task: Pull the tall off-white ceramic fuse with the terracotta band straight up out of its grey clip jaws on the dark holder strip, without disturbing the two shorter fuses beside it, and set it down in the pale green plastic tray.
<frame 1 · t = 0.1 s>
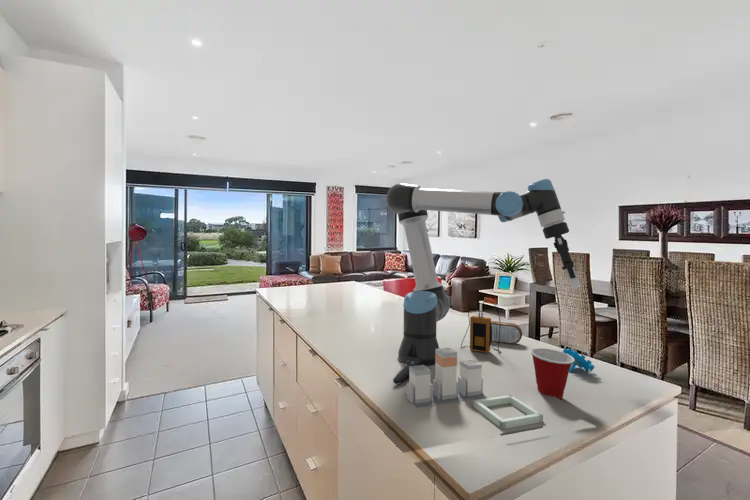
hand: (575, 285, 118), 28 cm above the kitchen island, tool tilted 20°, fingers open, 13 cm apart
plastic cup: (551, 397, 98), on the kitchen island
can opener: (408, 383, 108), on the kitchen island
fuse b: (470, 392, 97), point 1 cm above the kitchen island, touching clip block
multimeter: (482, 349, 141), on the kitchen island
fuse: (445, 395, 95), point 1 cm above the kitchen island, touching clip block
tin: (502, 343, 151), on the kitchen island
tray: (506, 419, 85), on the kitchen island
blue knobby plastic piece: (576, 371, 119), on the kitchen island
fuse a: (419, 399, 92), point 1 cm above the kitchen island, touching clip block
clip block: (445, 401, 95), on the kitchen island
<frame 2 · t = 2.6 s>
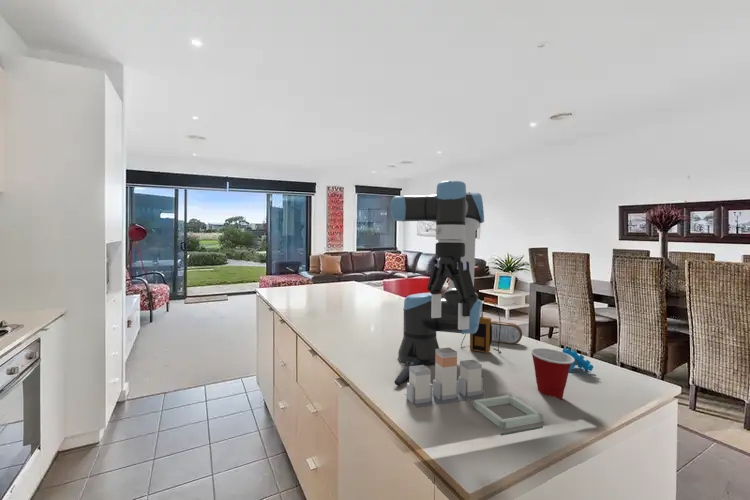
hand: (448, 323, 94), 21 cm above the kitchen island, tool pointing down, fingers open, 13 cm apart
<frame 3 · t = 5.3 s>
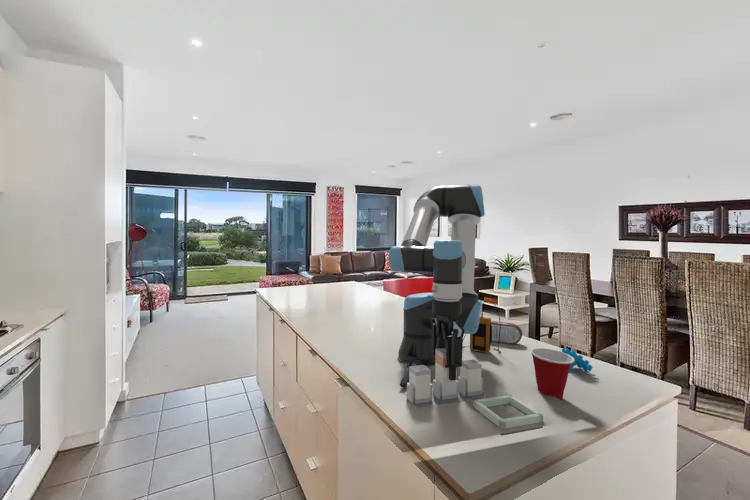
hand: (445, 387, 95), 4 cm above the kitchen island, tool pointing down, fingers closed on fuse, 4 cm apart
can opener: (411, 385, 106), on the kitchen island
fuse: (445, 395, 95), point 2 cm above the kitchen island, touching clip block, gripper
everything else where it was.
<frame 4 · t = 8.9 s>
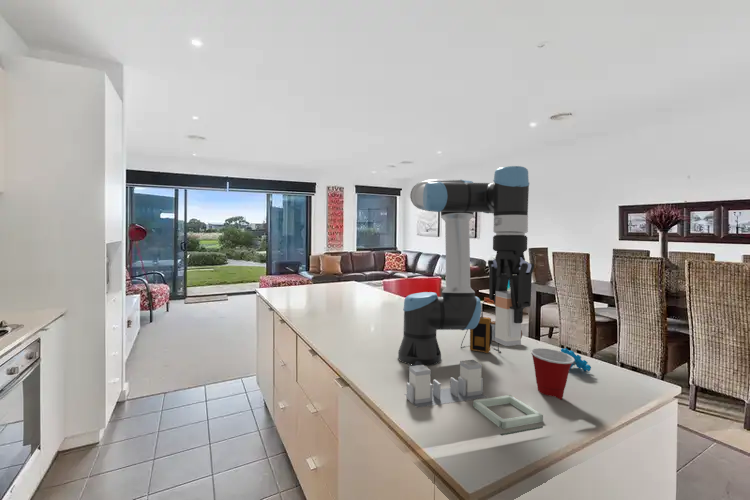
hand: (508, 333, 85), 21 cm above the kitchen island, tool pointing down, fingers closed on fuse, 4 cm apart
can opener: (415, 387, 104), on the kitchen island
fuse: (507, 342, 85), point 18 cm above the kitchen island, touching gripper
everything else where it was.
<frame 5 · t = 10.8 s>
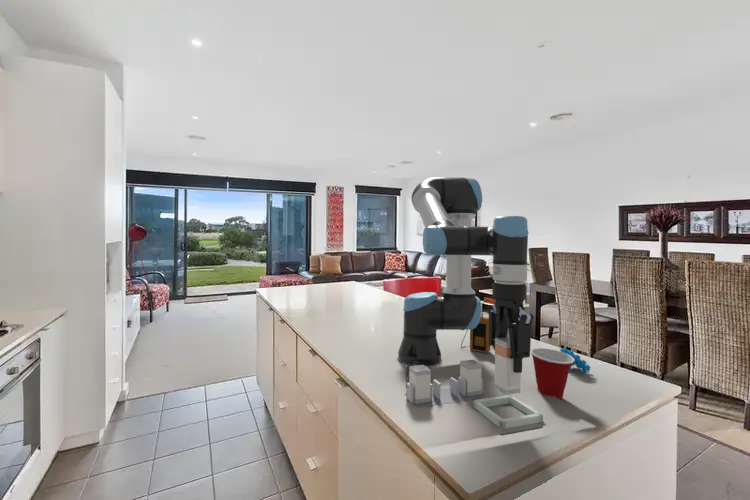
hand: (507, 381, 85), 9 cm above the kitchen island, tool pointing down, fingers closed on fuse, 4 cm apart
fuse: (507, 390, 85), point 7 cm above the kitchen island, touching gripper
when the fingers open (4 cm above the kitchen island, at t = 12.5 s): fuse drops 1 cm, resting on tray.
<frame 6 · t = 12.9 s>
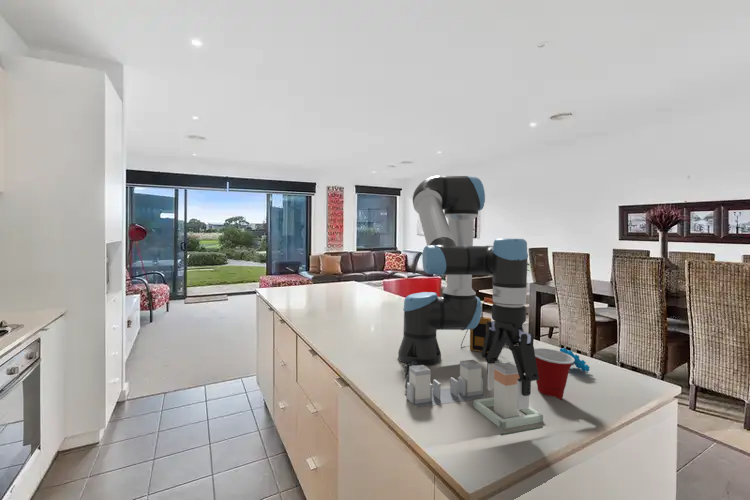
hand: (506, 398, 85), 5 cm above the kitchen island, tool pointing down, fingers open, 10 cm apart
fuse: (506, 416, 85), point 1 cm above the kitchen island, touching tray
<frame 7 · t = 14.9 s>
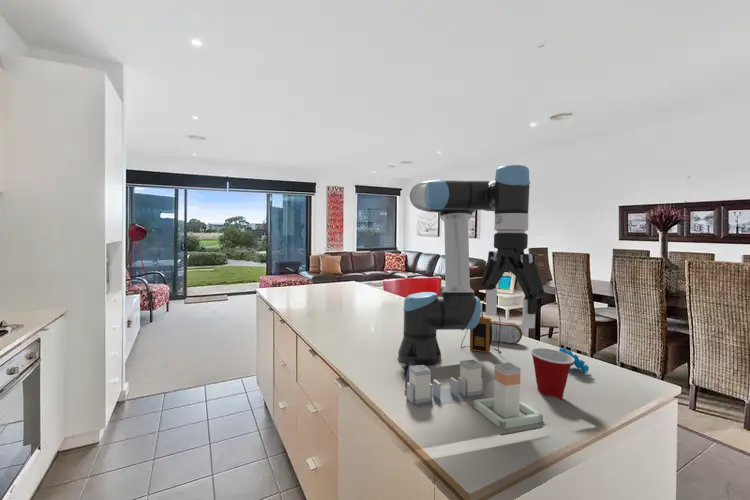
hand: (508, 321, 86), 23 cm above the kitchen island, tool pointing down, fingers open, 13 cm apart
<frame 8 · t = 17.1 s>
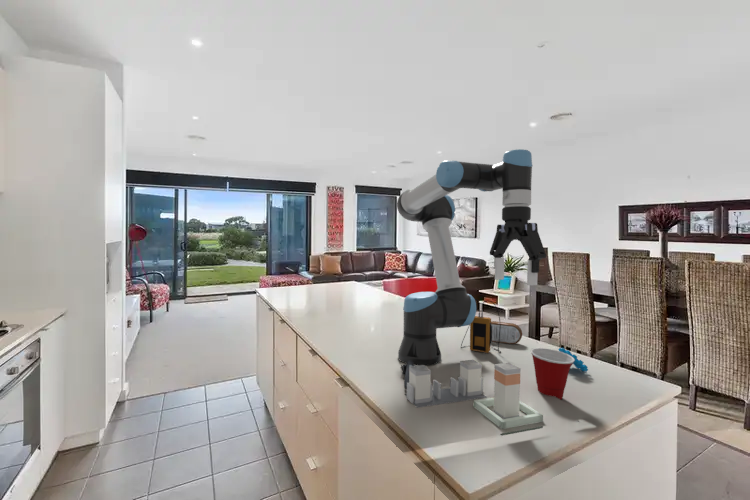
hand: (514, 282, 102), 31 cm above the kitchen island, tool pointing down, fingers open, 13 cm apart
can opener: (409, 387, 104), on the kitchen island, touching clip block
at the end: fuse inside the target area on the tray (0.1 cm from its centre), point 0.8 cm above the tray's base; fuse a moved 0.0 cm from its start; fuse b moved 0.0 cm from its start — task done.
